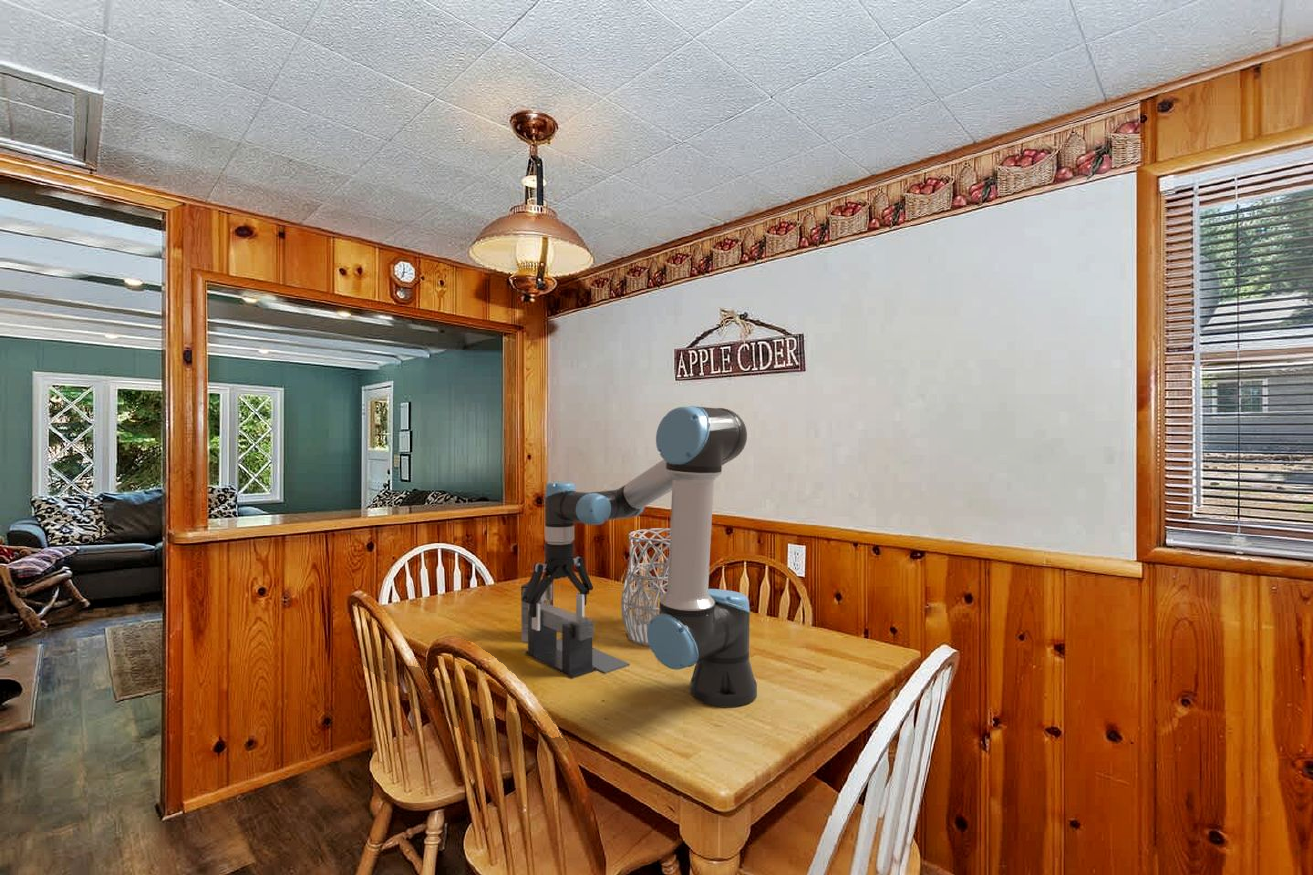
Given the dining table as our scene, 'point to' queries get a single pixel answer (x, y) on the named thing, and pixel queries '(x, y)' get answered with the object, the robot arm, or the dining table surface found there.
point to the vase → (631, 623)
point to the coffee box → (546, 598)
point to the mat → (601, 660)
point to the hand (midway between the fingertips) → (558, 623)
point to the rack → (573, 654)
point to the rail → (565, 621)
